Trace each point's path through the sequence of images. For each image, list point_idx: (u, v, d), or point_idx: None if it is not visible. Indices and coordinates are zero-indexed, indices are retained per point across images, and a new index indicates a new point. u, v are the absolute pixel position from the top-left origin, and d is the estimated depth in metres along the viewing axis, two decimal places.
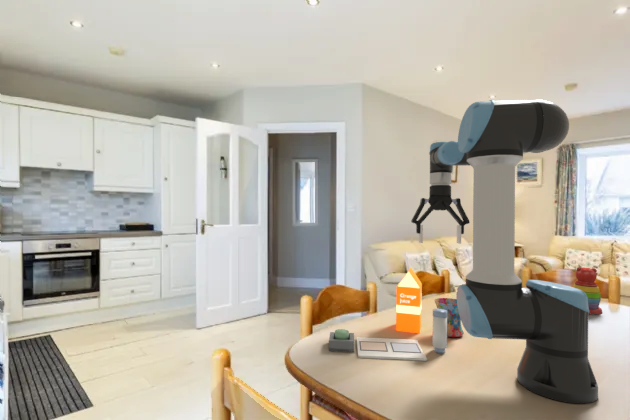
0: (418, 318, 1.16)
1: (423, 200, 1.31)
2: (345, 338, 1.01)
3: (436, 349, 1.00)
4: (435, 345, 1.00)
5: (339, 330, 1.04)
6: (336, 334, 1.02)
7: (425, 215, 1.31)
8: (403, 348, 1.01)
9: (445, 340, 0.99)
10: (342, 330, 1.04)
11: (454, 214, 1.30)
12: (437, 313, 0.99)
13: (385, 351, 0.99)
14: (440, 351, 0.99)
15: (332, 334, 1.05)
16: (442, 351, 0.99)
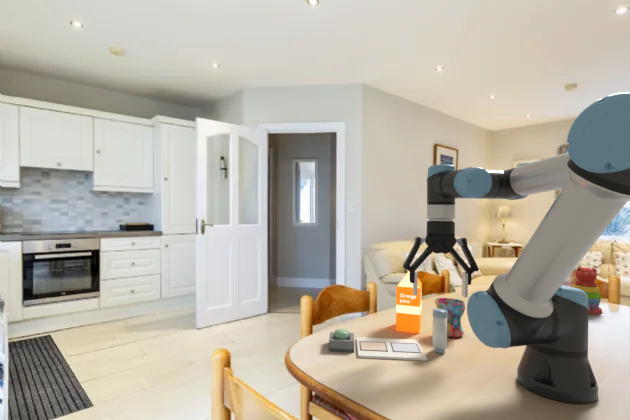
0: (418, 318, 1.16)
1: (418, 240, 1.00)
2: (345, 338, 1.01)
3: (436, 349, 1.00)
4: (435, 345, 1.00)
5: (339, 330, 1.04)
6: (336, 334, 1.02)
7: (421, 260, 1.00)
8: (403, 348, 1.01)
9: (445, 340, 0.99)
10: (342, 330, 1.04)
11: (459, 259, 0.99)
12: (437, 313, 0.99)
13: (385, 351, 0.99)
14: (440, 351, 0.99)
15: (332, 334, 1.05)
16: (442, 351, 0.99)
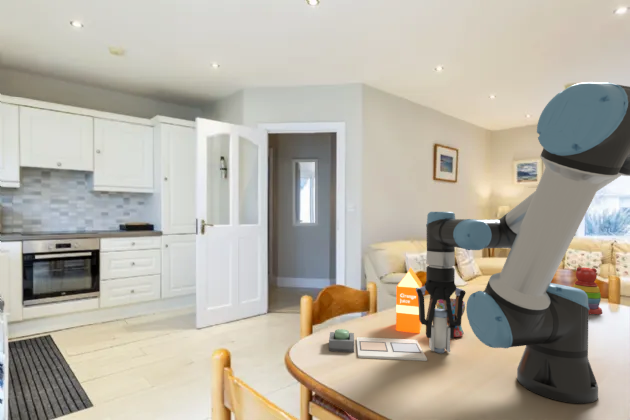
0: (418, 318, 1.16)
1: (419, 292, 1.00)
2: (345, 338, 1.01)
3: (436, 349, 1.00)
4: (435, 345, 1.00)
5: (339, 330, 1.04)
6: (336, 334, 1.02)
7: (431, 312, 1.00)
8: (403, 348, 1.01)
9: (445, 340, 0.99)
10: (342, 330, 1.04)
11: (449, 309, 0.99)
12: (437, 313, 0.99)
13: (385, 351, 0.99)
14: (440, 351, 0.99)
15: (332, 334, 1.05)
16: (442, 351, 0.99)
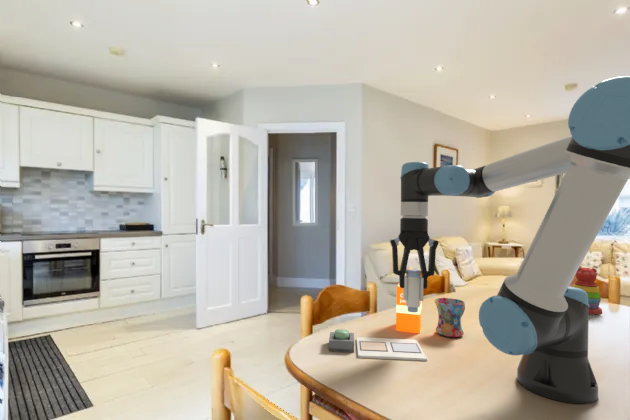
0: (418, 318, 1.16)
1: (393, 242, 1.01)
2: (345, 338, 1.01)
3: (409, 308, 1.01)
4: (408, 304, 1.01)
5: (339, 330, 1.04)
6: (336, 334, 1.02)
7: (404, 262, 1.01)
8: (403, 348, 1.01)
9: (418, 299, 1.00)
10: (342, 330, 1.04)
11: (422, 259, 1.00)
12: (410, 272, 1.00)
13: (385, 351, 0.99)
14: (413, 310, 1.00)
15: (332, 334, 1.05)
16: (415, 310, 1.00)
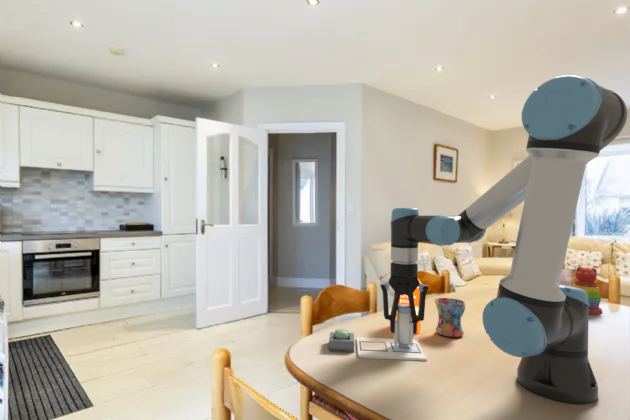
0: None
1: (383, 288, 1.01)
2: (345, 338, 1.01)
3: (400, 344, 1.01)
4: (399, 340, 1.01)
5: (339, 330, 1.04)
6: (336, 334, 1.02)
7: (395, 307, 1.01)
8: None
9: (409, 335, 1.00)
10: (342, 330, 1.04)
11: (412, 305, 1.00)
12: (401, 309, 1.00)
13: (385, 351, 0.99)
14: (404, 346, 1.01)
15: (332, 334, 1.05)
16: (406, 346, 1.01)
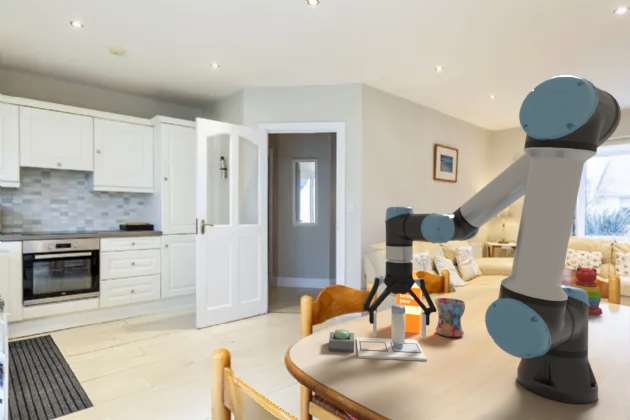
0: (418, 318, 1.16)
1: (377, 281, 1.01)
2: (345, 338, 1.01)
3: (394, 344, 1.01)
4: (393, 340, 1.01)
5: (339, 330, 1.04)
6: (336, 334, 1.02)
7: (379, 300, 1.01)
8: (403, 348, 1.01)
9: (403, 335, 1.01)
10: (342, 330, 1.04)
11: (417, 300, 1.00)
12: (395, 309, 1.00)
13: (385, 351, 0.99)
14: (398, 346, 1.01)
15: (332, 334, 1.05)
16: (400, 346, 1.01)
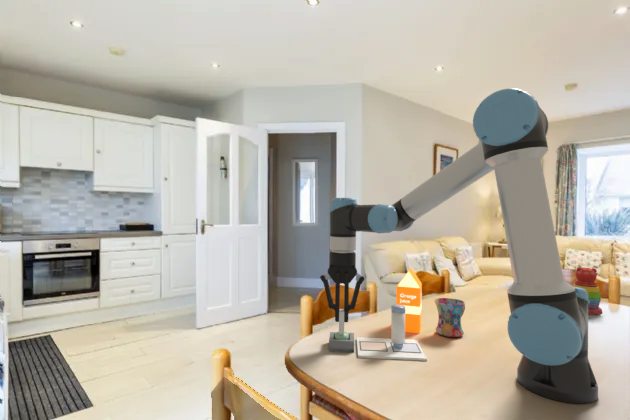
0: (418, 318, 1.16)
1: (322, 278, 1.03)
2: None
3: (394, 344, 1.01)
4: (393, 340, 1.01)
5: None
6: (336, 336, 1.02)
7: (337, 296, 1.02)
8: (403, 348, 1.01)
9: (403, 335, 1.00)
10: None
11: (346, 293, 1.02)
12: (395, 309, 1.00)
13: (385, 351, 0.99)
14: (398, 346, 1.01)
15: (332, 334, 1.05)
16: (400, 346, 1.01)
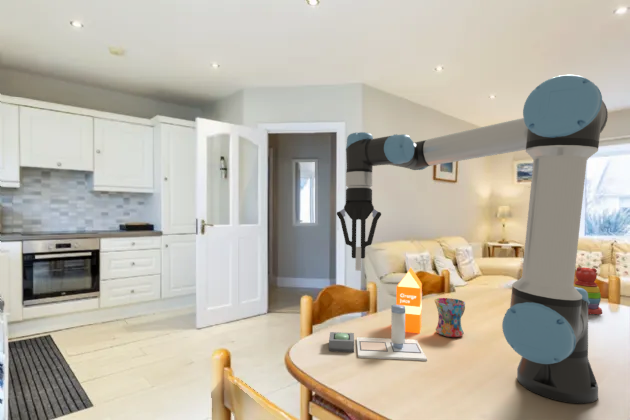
0: (418, 318, 1.16)
1: (339, 214, 1.02)
2: None
3: (394, 344, 1.01)
4: (393, 340, 1.01)
5: (339, 334, 1.04)
6: (336, 338, 1.02)
7: (353, 232, 1.02)
8: (403, 348, 1.01)
9: (403, 335, 1.01)
10: (342, 334, 1.04)
11: (362, 229, 1.02)
12: (395, 309, 1.00)
13: (385, 351, 0.99)
14: (398, 346, 1.01)
15: (332, 334, 1.05)
16: (400, 346, 1.01)
